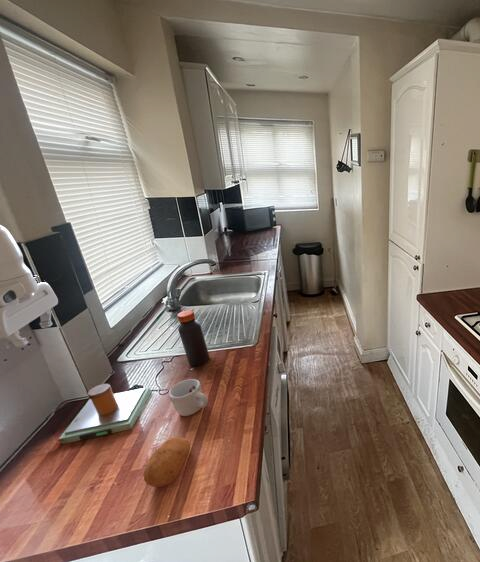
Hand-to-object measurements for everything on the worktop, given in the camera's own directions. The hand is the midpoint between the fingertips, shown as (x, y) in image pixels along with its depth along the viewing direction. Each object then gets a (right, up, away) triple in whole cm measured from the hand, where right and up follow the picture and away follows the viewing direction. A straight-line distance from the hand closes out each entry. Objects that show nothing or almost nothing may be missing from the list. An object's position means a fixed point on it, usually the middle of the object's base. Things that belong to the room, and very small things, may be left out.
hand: (35, 335), depth 81 cm
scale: (+12, -25, +9) cm, 29 cm away
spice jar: (+12, -23, +8) cm, 27 cm away
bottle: (+25, -15, +32) cm, 43 cm away
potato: (+41, -31, -7) cm, 52 cm away
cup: (+36, -24, +10) cm, 45 cm away
